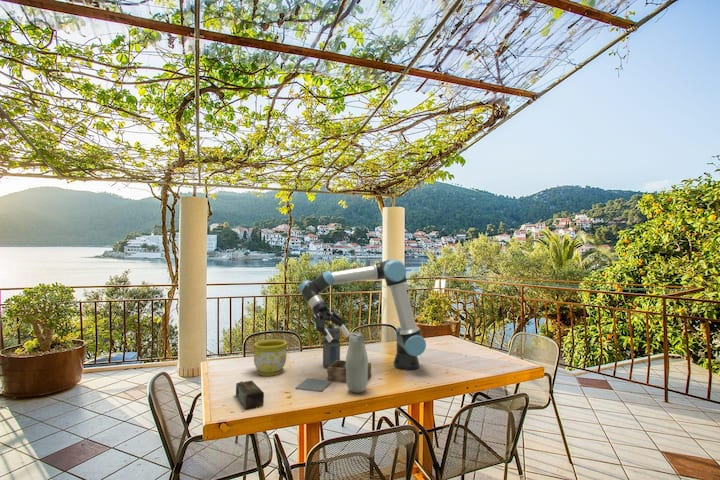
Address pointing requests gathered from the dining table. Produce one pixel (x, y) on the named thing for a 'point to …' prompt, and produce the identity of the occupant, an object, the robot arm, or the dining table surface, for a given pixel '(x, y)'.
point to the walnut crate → (340, 371)
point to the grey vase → (356, 363)
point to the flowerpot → (270, 356)
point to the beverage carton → (249, 394)
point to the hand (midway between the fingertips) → (340, 338)
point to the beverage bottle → (331, 346)
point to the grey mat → (314, 385)
